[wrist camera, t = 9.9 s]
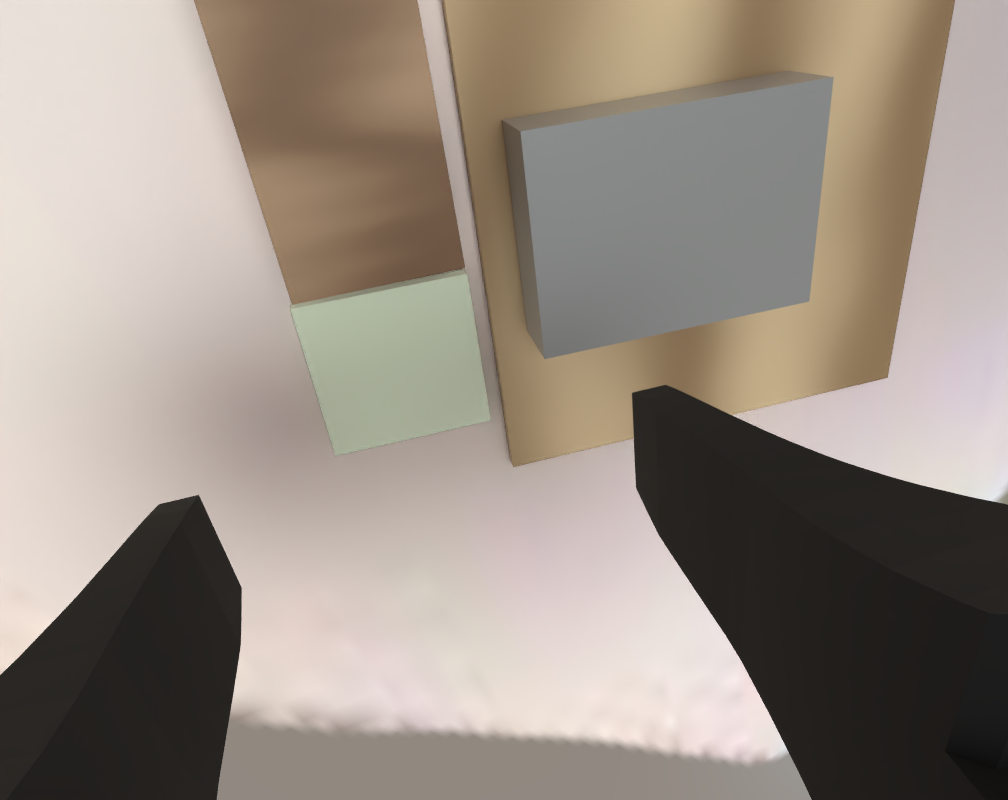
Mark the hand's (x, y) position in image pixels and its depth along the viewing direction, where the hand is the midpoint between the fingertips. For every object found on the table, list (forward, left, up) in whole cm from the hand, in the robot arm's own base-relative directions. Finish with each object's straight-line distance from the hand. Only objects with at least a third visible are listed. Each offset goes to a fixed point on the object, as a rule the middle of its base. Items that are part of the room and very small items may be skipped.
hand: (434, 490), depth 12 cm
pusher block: (0, -1, -8) cm, 8 cm away
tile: (-8, -4, -8) cm, 12 cm away
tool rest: (0, +2, -10) cm, 10 cm away
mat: (-10, 0, -10) cm, 14 cm away
